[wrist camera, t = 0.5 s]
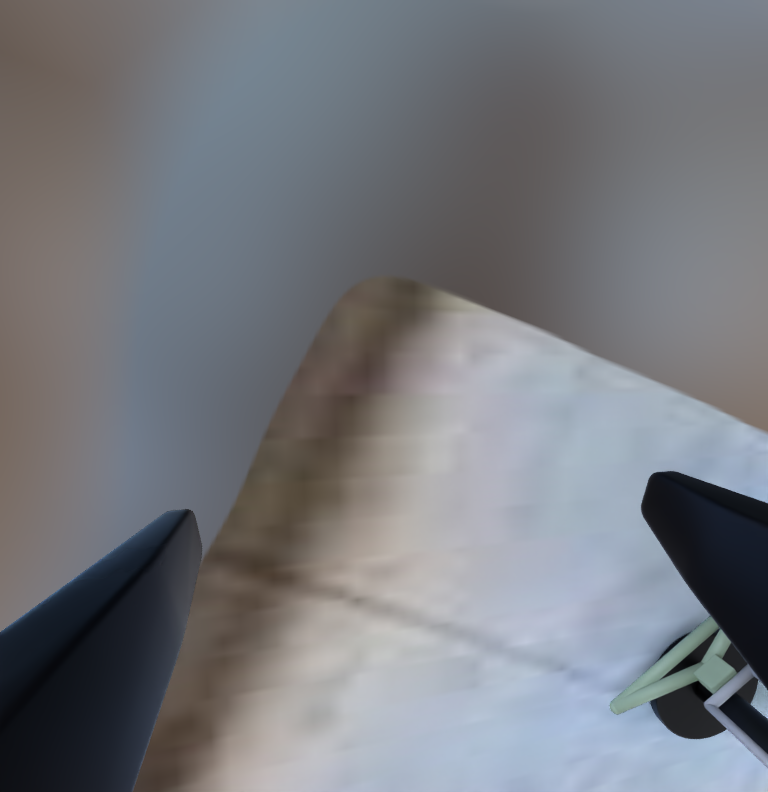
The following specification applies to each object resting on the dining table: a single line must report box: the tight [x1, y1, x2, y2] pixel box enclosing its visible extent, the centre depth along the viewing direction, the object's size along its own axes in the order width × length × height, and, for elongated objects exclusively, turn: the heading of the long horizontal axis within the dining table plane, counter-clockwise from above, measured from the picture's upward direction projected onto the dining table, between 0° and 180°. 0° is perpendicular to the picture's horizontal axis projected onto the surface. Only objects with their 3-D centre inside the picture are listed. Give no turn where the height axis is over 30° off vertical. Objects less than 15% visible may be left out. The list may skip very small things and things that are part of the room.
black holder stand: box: [650, 629, 768, 754], centre depth 24 cm, size 8×12×9 cm
